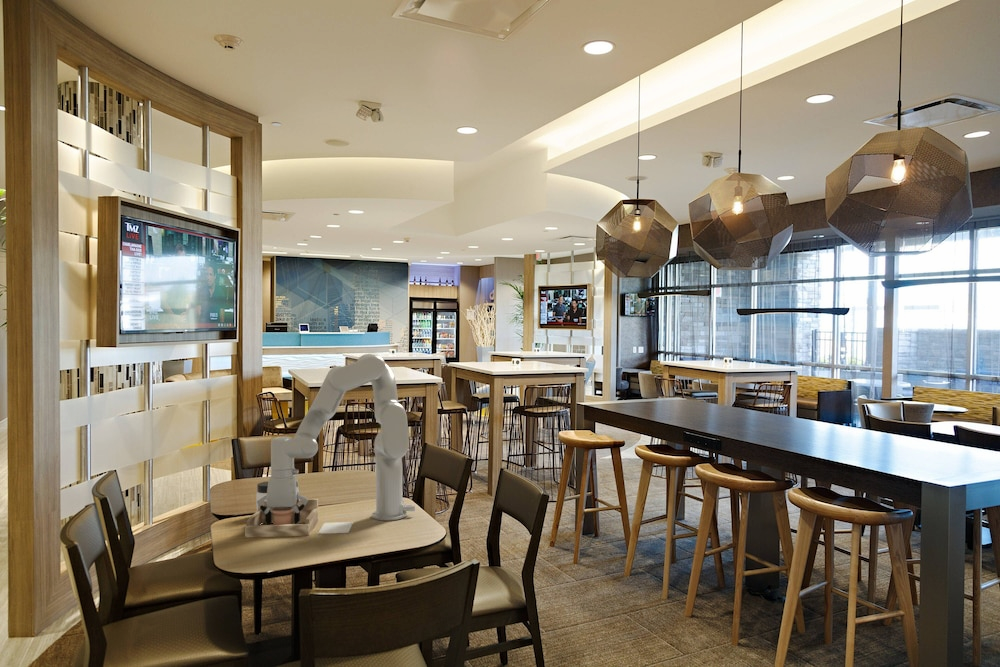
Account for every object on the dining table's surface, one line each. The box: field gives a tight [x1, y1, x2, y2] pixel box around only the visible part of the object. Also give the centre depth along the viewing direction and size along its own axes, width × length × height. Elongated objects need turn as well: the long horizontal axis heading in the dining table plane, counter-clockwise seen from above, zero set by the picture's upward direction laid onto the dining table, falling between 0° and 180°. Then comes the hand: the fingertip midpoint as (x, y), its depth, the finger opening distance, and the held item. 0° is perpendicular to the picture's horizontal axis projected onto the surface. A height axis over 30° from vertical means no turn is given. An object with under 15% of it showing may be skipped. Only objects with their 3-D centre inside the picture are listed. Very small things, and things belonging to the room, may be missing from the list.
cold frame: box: [244, 498, 319, 538], centre depth 224 cm, size 20×16×8 cm
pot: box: [272, 507, 294, 525], centre depth 224 cm, size 7×7×7 cm
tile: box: [317, 521, 354, 535], centre depth 224 cm, size 10×12×1 cm
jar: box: [255, 480, 269, 511], centre depth 240 cm, size 9×8×12 cm
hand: (282, 524), depth 224 cm, fingers open, 8 cm apart
